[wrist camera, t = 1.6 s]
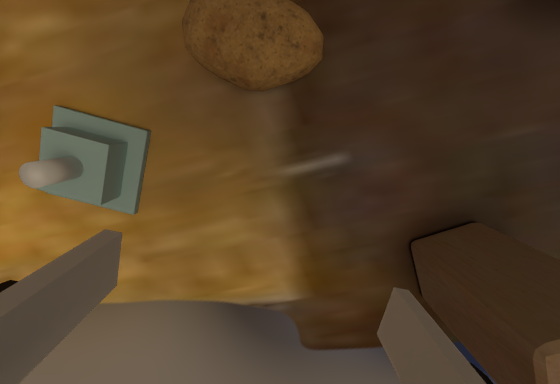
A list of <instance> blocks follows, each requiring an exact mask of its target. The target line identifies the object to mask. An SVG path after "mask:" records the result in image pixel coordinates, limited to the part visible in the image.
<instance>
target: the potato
mask: <svg viewBox="0 0 560 384" xmlns="http://www.w3.org/2000/svg"><path fill="white" fill-rule="evenodd" d="M182 24H183V31H184V38H185V45H186V48H187V49H188V50H189V51H190V53H191V54H192V55H193V56H194V58H195V59H196V60H197V61H198V62H199V63H200V64H201V65H203V66H204V67H205V68H207V69H208V70H210V71H211V72H213V73H214V74H216V75H217V76H219V77H220V78H223V79H225V80H227V81H229V82H231V83H233V84H235V85H237V86H240V87H242V88H244V89H246V90H255V91H264V90H268V89H271V88H274V87H277V86H280V85H283V84H287V83H290V82H293V81H295V80H297V79H299V78H301V77H303V76H305V75H306V74H308V73H309V72H310V71H311V70H312V69H313V68H314V67H315V66H316V65H317V64H318V63H319V62H320V61H321V60H322V52H323V37H324V36H323V34H322V33H321V31H320V30H319V28H318V27H317V25H316V23H315V22H314V20H313V19H312V17H311V16H310V14H309V13H308V12H307V11H305V10H304V9H302V8H301V7H300V6H298V5H297V4H295V3H294V2H292V1H291V0H190V3H189V5H188V8H187V10H186V13H185V15H184V17H183V21H182Z"/></svg>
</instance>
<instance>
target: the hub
mask: <svg viewBox="0 0 560 384" xmlns="http://www.w3.org/2000/svg"><path fill="white" fill-rule="evenodd" d="M150 135H151V131H149V130H145V129H141V128H138V127H134V126H130V125H127V124H123V123H120V122H116V121H112V120H109V119H105V118H102V117H98V116H94V115H91V114H87V113H84V112H80V111H76V110H73V109H69V108H65V107H62V106H54V110H53V121H52V127H42V130H41V143H40V156H39V161H35V162H28V163H25V164H23V165H22V166H21V167H20V170H19V176H20V178H21V180H22V182H23V183H24V184H25V185H27V186H29V187H31V188H37V189H38V190H42V191H46V193H49V194H53V195H57V196H61V197H65V198H69V199H73V200H77V201H81V202H85V203H89V204H93V205H97V206H101V207H105V208H109V209H113V210H117V211H121V212H125V213H129V214H133V215H134V214H136V213H137V212H138V206H139V200H140V194H141V188H142V182H143V176H144V170H145V164H146V158H147V153H148V147H149V141H150Z"/></svg>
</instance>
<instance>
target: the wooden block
mask: <svg viewBox="0 0 560 384" xmlns="http://www.w3.org/2000/svg"><path fill="white" fill-rule="evenodd" d="M411 250H412V254H413V259H414V263H415V267H416V271H417V276H418V280H419V284H420V288H421V293H422V297H423V299H424V300H425V301H426V302H427V303H428V305H429V306H430V307H431V308H432V309H433V310H434V311H435V313H436V314H437V315H438V316H439V317H440V318H441V320H442V321H443V322H444V323H445V324H446V325H447V326H448V328H449V329H450V330H451V331H452V332H453V333H454V335H455V336H456V337H457V338H458V339H459V340H460V341H461V343H462V344H463V345H464V346H465V347H466V348H467V350H468V351H469V352H470V353H471V354H472V355H473V356H474V358H475V359H476V360H477V361H478V362H479V363H480V364H481V366H482V367H483V368H484V369H485V370H486V371H487V373H488V374H489V375H490V376H491V377H492V378H493V379H494V381H495V382H496V383H497V384H560V260H558V259H556V258H554V257H552V256H550V255H548V254H545V253H543V252H541V251H539V250H537V249H535V248H533V247H530V246H528V245H526V244H524V243H522V242H520V241H518V240H515V239H513V238H511V237H509V236H507V235H505V234H503V233H501V232H498V231H496V230H494V229H492V228H490V227H488V226H486V225H483V224H481V223H470V224H466V225H463V226H460V227H457V228H454V229H450V230H447V231H444V232H441V233H437V234H434V235H431V236H428V237H424V238H421V239H418V240H415V241H413V242H412V243H411Z"/></svg>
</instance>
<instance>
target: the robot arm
mask: <svg viewBox="0 0 560 384" xmlns="http://www.w3.org/2000/svg"><path fill="white" fill-rule="evenodd" d="M121 240H122V233H121V232H116V231H111V230H106V229H105V230H103V231H101V232H100V233H98V234H96V235H95V236H93V237H91V238H90V239H88V240H87V241H85V242H83V243H82V244H80V245H78V246H77V247H75V248H73V249H72V250H70V251H68V252H67V253H65V254H63V255H62V256H60V257H58V258H57V259H55V260H53V261H52V262H50V263H48V264H47V265H45V266H43V267H42V268H40V269H38V270H37V271H35V272H33V273H32V274H30V275H29V276H27V277H25V278H24V279H22V280H20V281H13V280H9V281H6V282H3V283H1V284H0V384H19V383H20V382H21V381H22V380H23V379H24V378H25V377H26V376H27V375H28V374H29V373H30V372H31V371H32V370H33V369H34V368H35V367H36V366H37V365H38V364H39V363H40V362H41V361H42V360H43V359H44V358H45V357H46V356H47V355H48V354H49V353H50V352H51V351H52V350H53V349H54V348H55V347H56V346H57V345H58V344H59V343H60V342H61V341H62V340H63V339H64V338H65V337H66V336H67V335H68V334H69V333H70V332H71V331H72V330H73V329H74V328H75V327H76V326H77V325H78V324H79V323H80V322H81V321H82V320H83V319H84V318H85V317H86V316H87V315H88V314H89V313H90V312H91V311H92V310H93V309H94V308H95V307H96V306H97V305H98V304H99V303H100V302H101V301H102V300H103V299H104V298H105V297H106V296H107V295H108V294H109V293H110V292H111V291H112V290H113V289H114V288H115V287H116V286H117V277H118V268H119V258H120V249H121ZM377 335H378V337H379V339H380V341H381V343H382V345H383V347H384V349H385V351H386V353H387V355H388V357H389V359H390V361H391V363H392V365H393V367H394V369H395V371H396V373H397V375H398V377H399V379H400V381H401V383H402V384H493V383H492V382H491V380H490V379H489V378H488V377H487V376H486V375H485V374H484V373H483V372H482V371H480V370H479V369H478V368H477V367H476V366H474V365H473V364H472V363H469V362H468V361H467V360H466V359H465V357H464V356H463V355H462V354H461V353H460V351H459V350H458V349H457V348H456V346H454V344H453V343H452V342H451V340H450V339H449V338H448V337H447V336H446V334H445V333H444V332H443V331H442V330H441V328H440V327H439V326H438V325H437V324H436V322H435V321H434V320H433V319H432V318H431V316H430V315H429V314H428V313H427V312H426V310H425V309H424V308H423V307H422V306H421V304H420V303H419V302H418V301H417V300H416V298H415V297H414V296H413V295H412V294H411V292H410V291H409V290H405V289H400V288H395V287H394V289H393V291H392V294H391V297H390V300H389V302H388V305H387V308H386V311H385V313H384V316H383V319H382V321H381V324H380V327H379V330H378V332H377Z"/></svg>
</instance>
